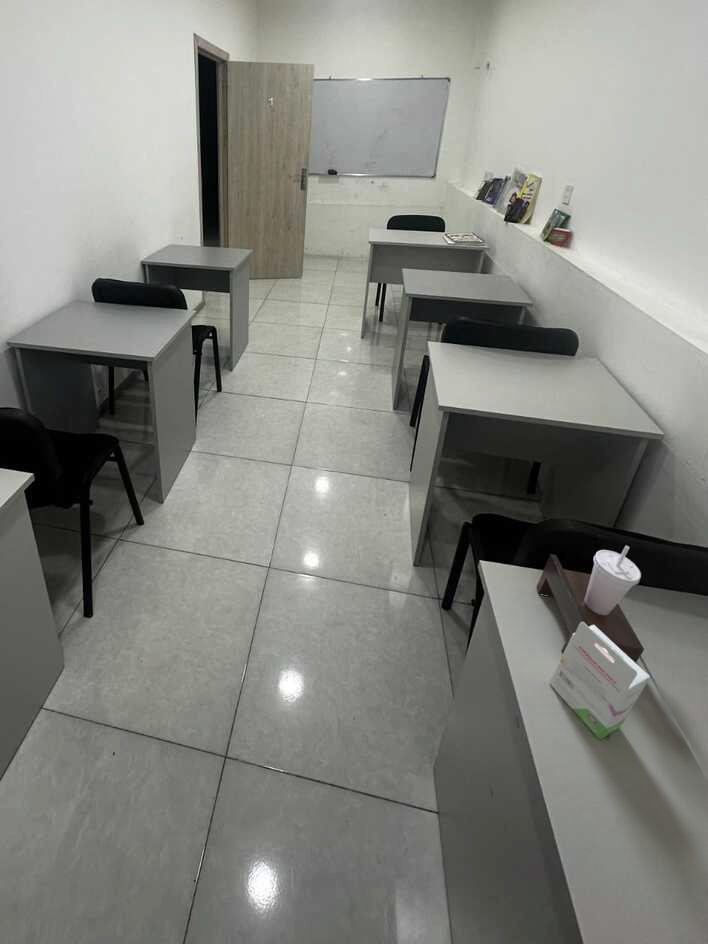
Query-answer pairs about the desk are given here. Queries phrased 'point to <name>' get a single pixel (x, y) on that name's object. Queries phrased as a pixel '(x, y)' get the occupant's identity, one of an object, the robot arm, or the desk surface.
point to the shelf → (585, 607)
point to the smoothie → (610, 580)
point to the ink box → (598, 680)
